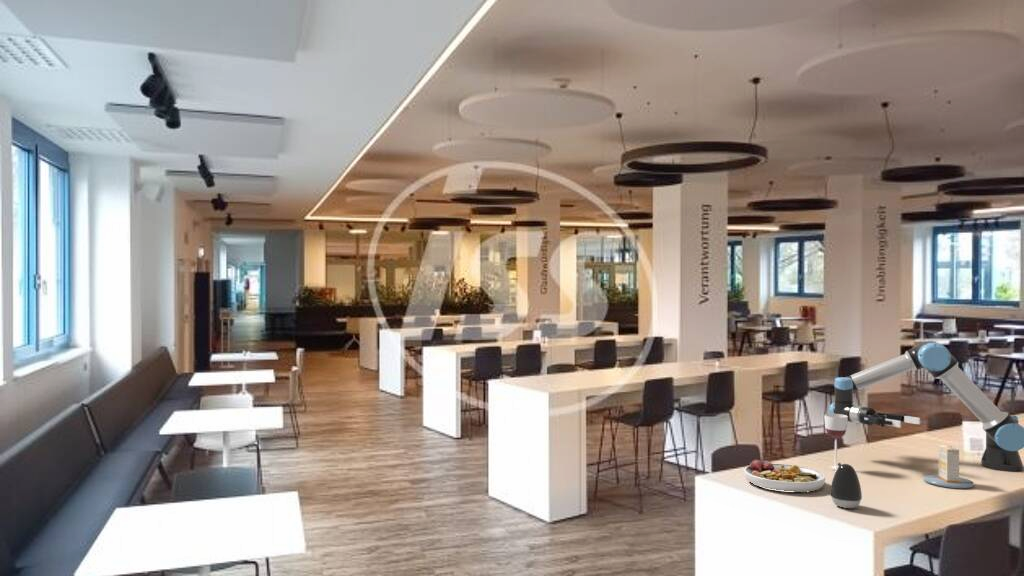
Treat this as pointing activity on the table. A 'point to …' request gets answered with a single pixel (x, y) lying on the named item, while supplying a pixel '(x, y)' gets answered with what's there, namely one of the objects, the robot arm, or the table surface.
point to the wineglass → (836, 428)
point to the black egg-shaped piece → (846, 487)
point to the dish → (940, 482)
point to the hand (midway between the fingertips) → (910, 422)
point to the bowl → (784, 476)
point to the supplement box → (948, 463)
